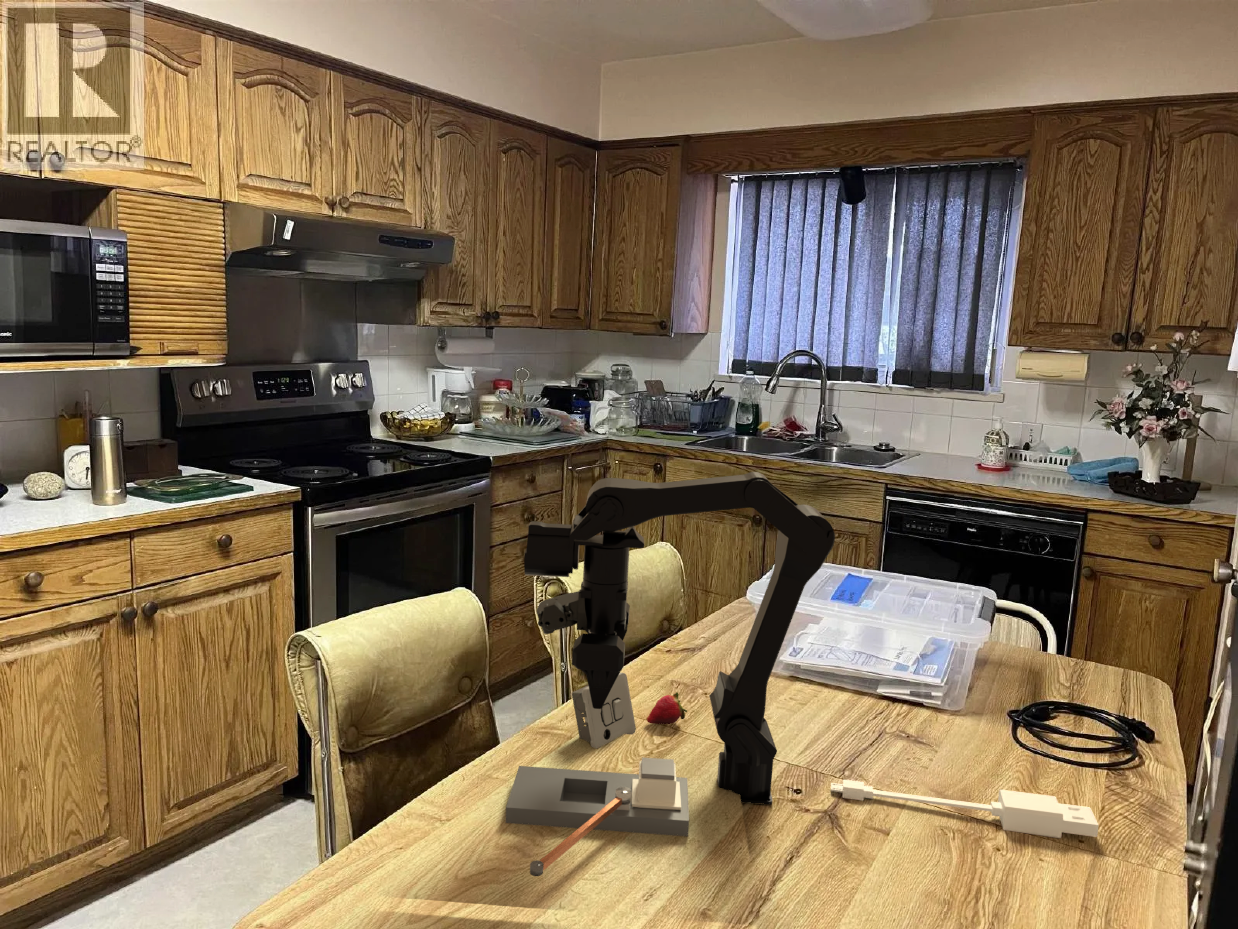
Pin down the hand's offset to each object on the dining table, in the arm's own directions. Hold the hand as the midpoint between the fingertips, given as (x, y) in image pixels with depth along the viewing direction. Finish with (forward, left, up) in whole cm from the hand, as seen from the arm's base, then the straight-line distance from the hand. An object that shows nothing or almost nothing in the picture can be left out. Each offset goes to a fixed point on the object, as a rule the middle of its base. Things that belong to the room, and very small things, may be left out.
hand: (599, 693), depth 119 cm
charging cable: (-48, 0, -14) cm, 50 cm away
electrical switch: (0, -13, -13) cm, 19 cm away
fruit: (-9, -19, -13) cm, 25 cm away
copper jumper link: (0, +17, -9) cm, 20 cm away
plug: (-8, +7, -12) cm, 16 cm away
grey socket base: (-1, +7, -13) cm, 15 cm away
